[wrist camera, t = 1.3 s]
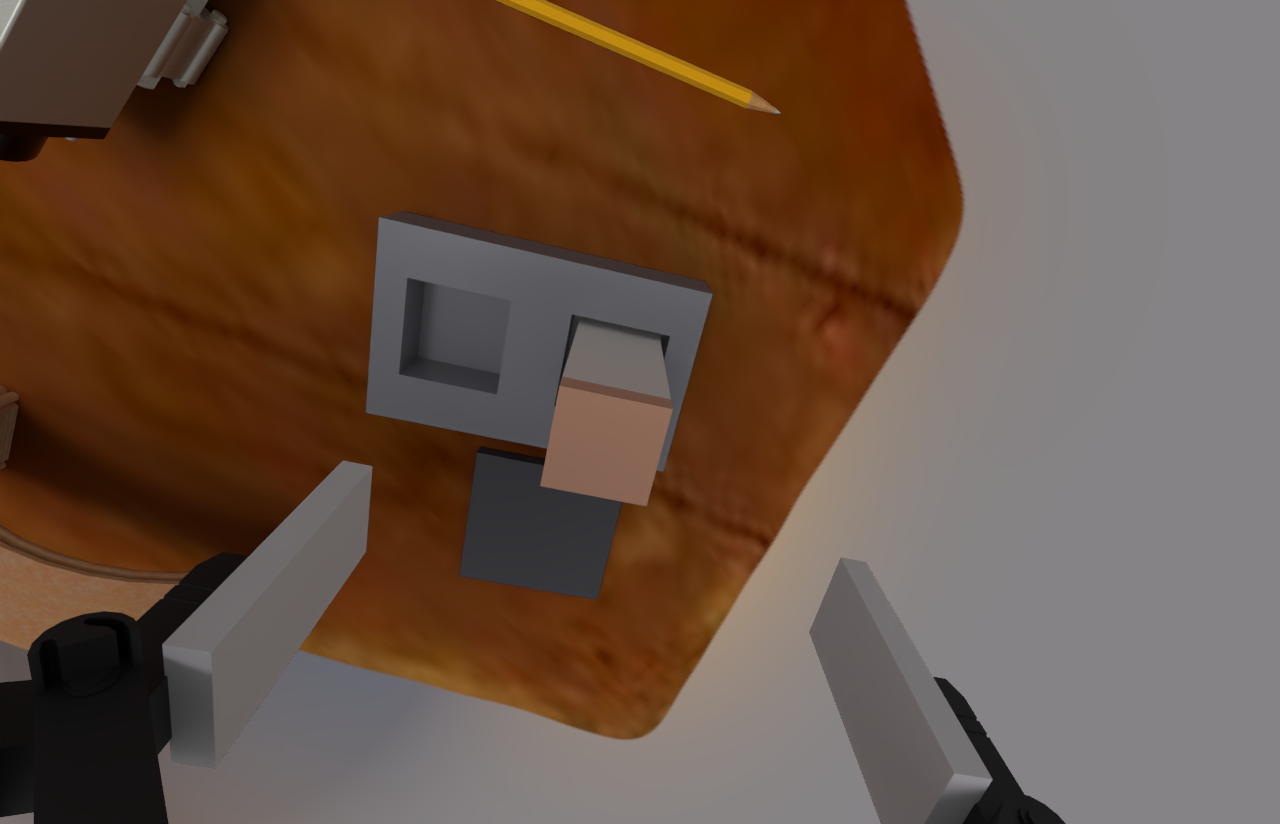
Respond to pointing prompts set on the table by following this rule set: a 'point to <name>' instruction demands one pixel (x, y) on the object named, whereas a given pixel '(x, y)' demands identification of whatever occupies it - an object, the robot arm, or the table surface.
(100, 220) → the table surface
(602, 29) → the pencil
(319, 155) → the table surface
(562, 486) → the plug
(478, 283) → the grey boxy piece
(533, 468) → the mat
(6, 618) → the arch
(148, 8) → the pneumatic valve
